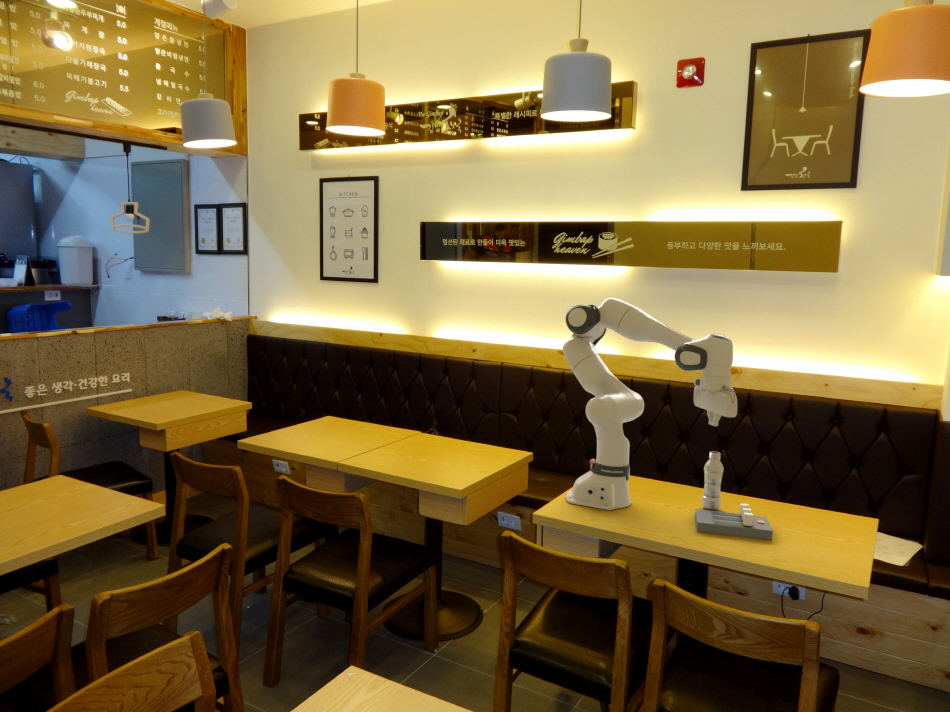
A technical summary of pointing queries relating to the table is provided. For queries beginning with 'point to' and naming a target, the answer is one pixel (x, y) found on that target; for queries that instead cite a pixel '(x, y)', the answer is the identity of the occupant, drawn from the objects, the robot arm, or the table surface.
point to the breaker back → (743, 507)
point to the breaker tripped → (745, 511)
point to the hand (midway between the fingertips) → (713, 425)
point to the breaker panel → (732, 524)
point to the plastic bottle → (712, 482)
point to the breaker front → (748, 519)
